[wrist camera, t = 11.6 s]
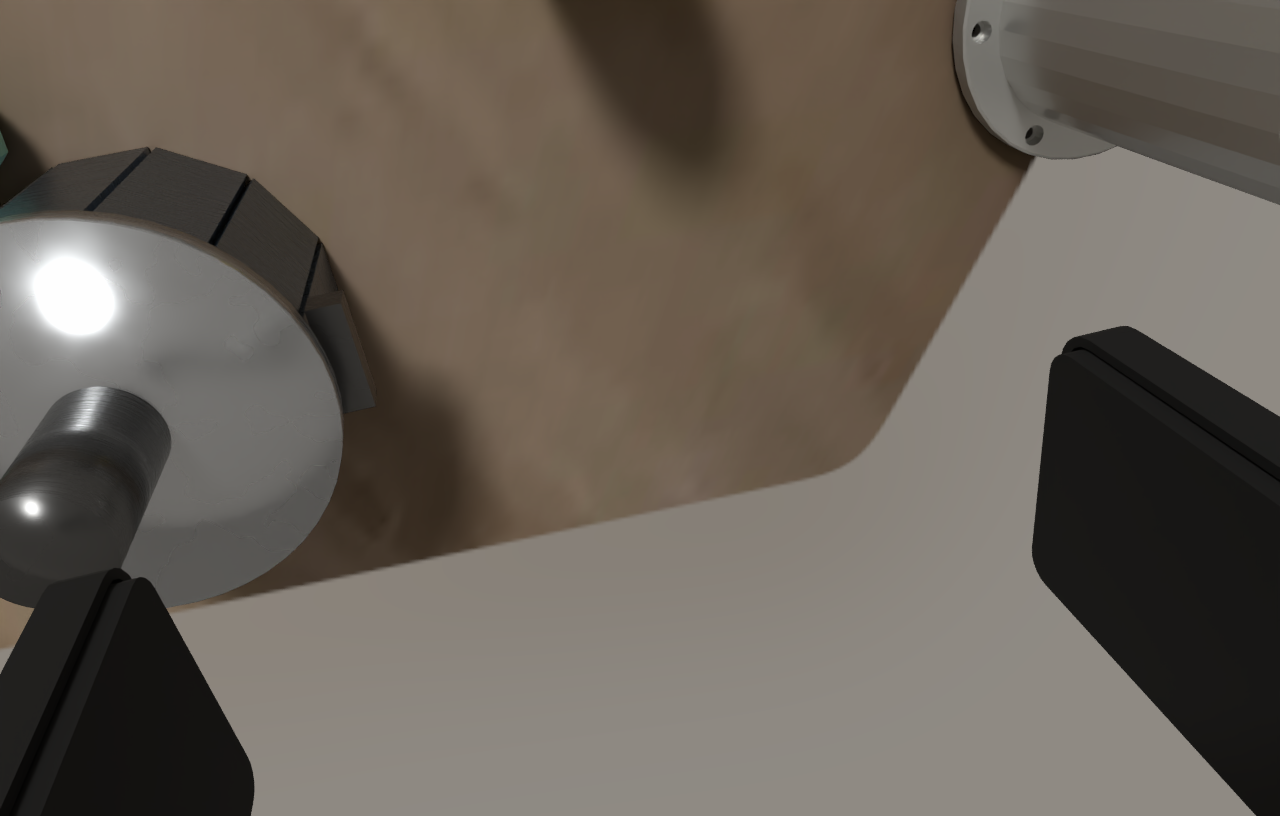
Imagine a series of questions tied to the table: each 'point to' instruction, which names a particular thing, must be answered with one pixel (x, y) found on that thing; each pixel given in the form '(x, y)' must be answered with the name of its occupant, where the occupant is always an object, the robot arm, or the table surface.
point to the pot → (218, 236)
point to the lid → (153, 410)
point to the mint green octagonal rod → (2, 149)
